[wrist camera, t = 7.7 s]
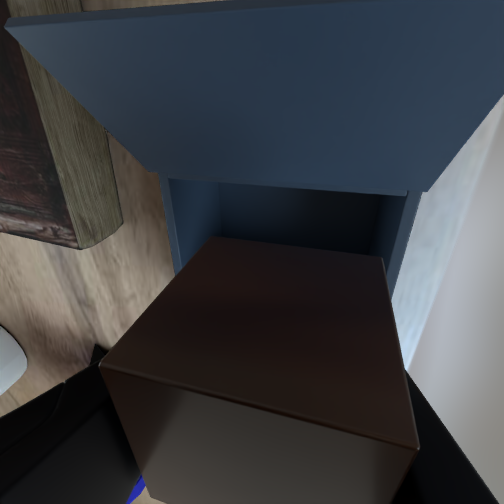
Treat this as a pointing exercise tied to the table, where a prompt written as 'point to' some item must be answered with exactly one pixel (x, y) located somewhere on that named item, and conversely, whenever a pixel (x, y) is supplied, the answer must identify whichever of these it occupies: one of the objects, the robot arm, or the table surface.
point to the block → (267, 380)
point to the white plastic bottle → (10, 361)
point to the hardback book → (50, 148)
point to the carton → (288, 216)
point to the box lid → (283, 84)
